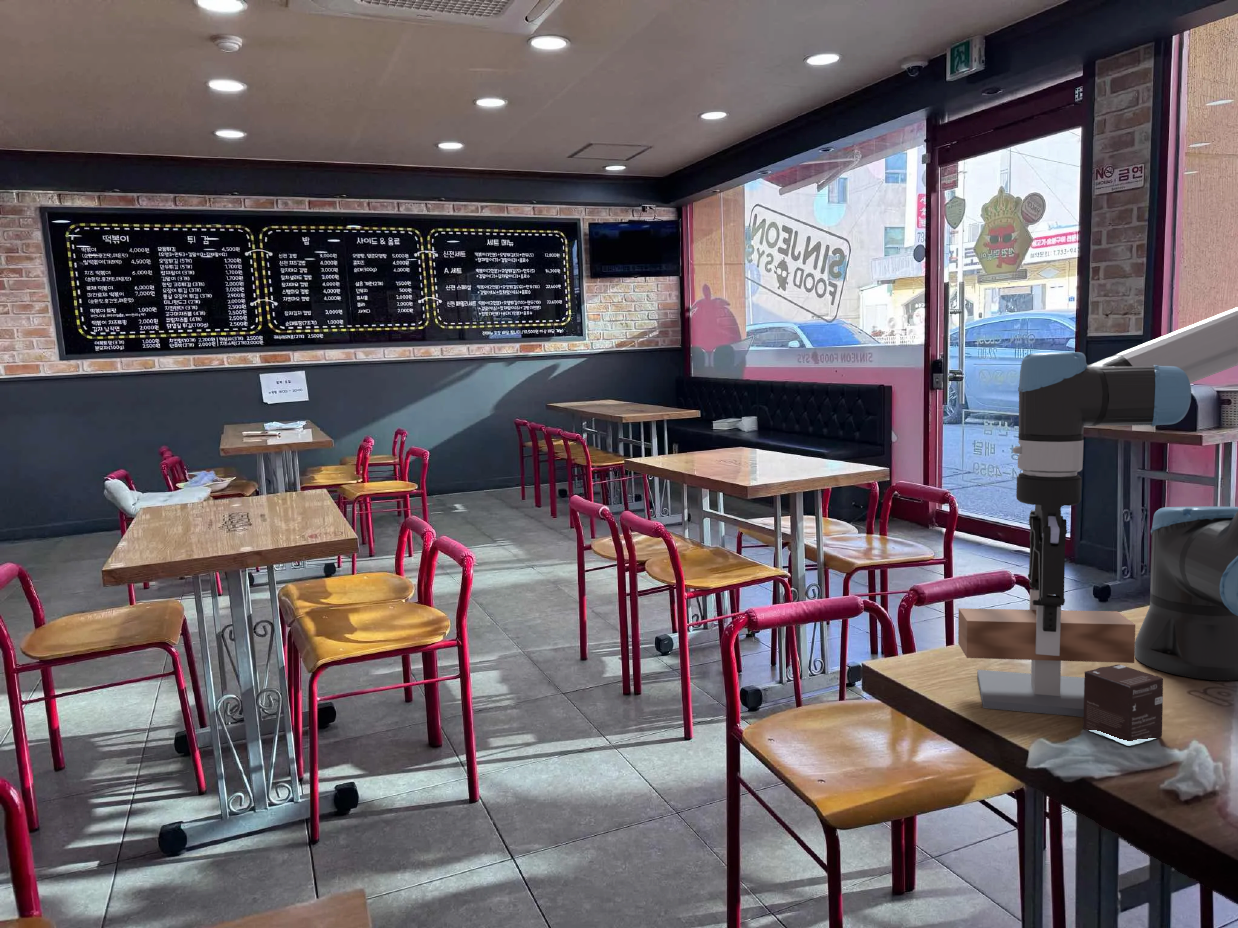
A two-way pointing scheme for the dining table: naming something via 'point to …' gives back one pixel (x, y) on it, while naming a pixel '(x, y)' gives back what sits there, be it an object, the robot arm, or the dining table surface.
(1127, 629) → the cherry bar
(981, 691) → the fulcrum
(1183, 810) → the dining table surface
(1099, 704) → the box
